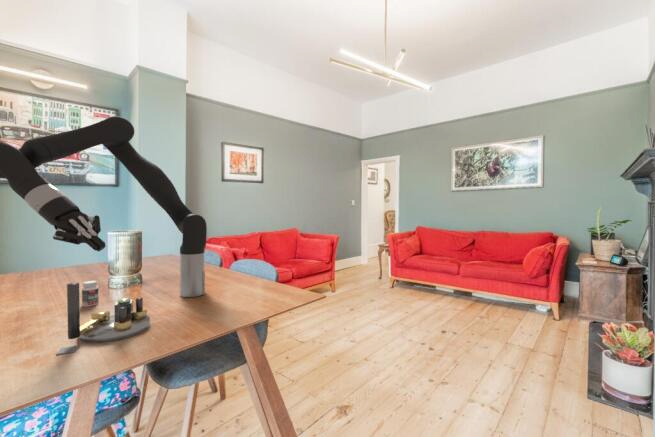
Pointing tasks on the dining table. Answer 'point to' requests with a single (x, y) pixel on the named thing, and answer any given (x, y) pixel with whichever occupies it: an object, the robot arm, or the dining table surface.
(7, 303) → the dining table surface
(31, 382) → the dining table surface
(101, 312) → the lever
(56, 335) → the dining table surface
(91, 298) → the pill bottle
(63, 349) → the plate
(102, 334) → the tribrach plate
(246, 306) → the dining table surface
